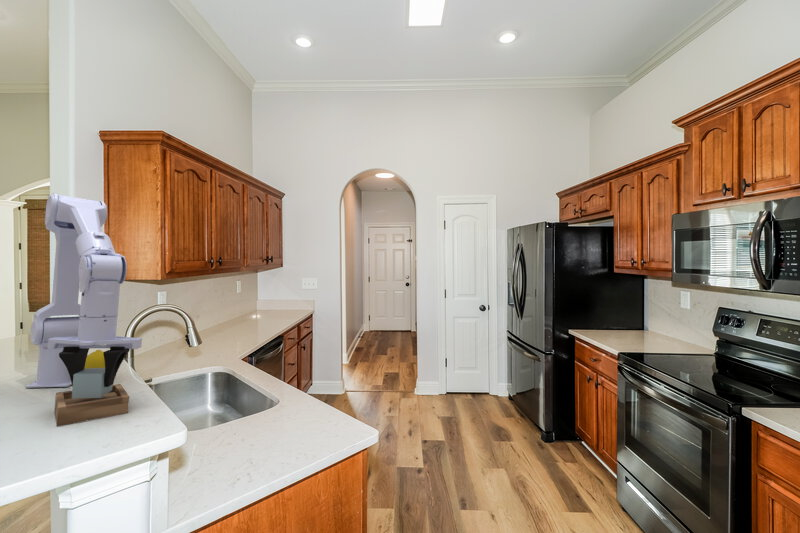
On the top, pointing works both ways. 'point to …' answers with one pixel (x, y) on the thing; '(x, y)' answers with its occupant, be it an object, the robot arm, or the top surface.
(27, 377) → the top surface
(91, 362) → the lemon
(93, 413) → the walnut base
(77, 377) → the block
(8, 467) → the top surface
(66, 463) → the top surface
